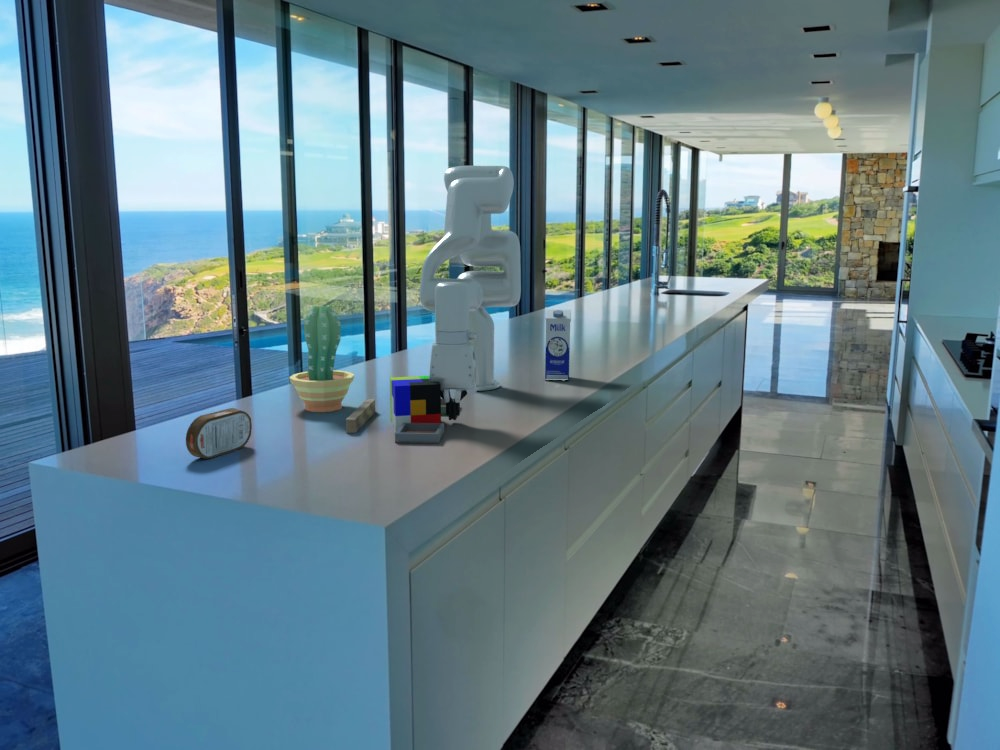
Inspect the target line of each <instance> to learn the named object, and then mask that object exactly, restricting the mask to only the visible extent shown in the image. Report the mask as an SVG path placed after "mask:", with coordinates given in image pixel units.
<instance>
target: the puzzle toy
mask: <svg viewBox="0 0 1000 750" xmlns="http://www.w3.org/2000/svg"><path fill="white" fill-rule="evenodd" d="M429 377H430V375H418V376H416V375H415V376H397V377H396V376H393V377H392V376H391V377H389V389H390V390H389V394H390V397H389V398H390V422H391V424H392V426H393V429H394V430H395V432H396V431H397V430H398V429H399V427H400V426H401V425H402V423H442V415H441V384H440V383H439V382H431V381H430V379H429Z"/></svg>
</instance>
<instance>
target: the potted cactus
mask: <svg viewBox="0 0 1000 750" xmlns="http://www.w3.org/2000/svg"><path fill="white" fill-rule="evenodd" d="M303 329H304V339H305V343H306V345H307V349H308V350H307V371H302V372H298V373H294V374H292V375H291V376H289V377H288V378H289V380H290V384H292V385H293V386H294V388H295V389H294V390H295V391H296V393H297V396H298V397H299V398H300V400H301V401H302V402H303V404H305V405H304V410H306V411H307V412H311V413H313V412H314V413H326V412H328V413H329V412H335V411H339V410H341V409H342V408H343V404H342V402H343V401H344V399H345V397H346V396H347V394H348V392H349V389H350V385H351V384H352V382H354V380H355V374H354V373H352V372H350V371H345V370H339V369H338V370H334V369H335V359H336V355H337V351H338V348H339V345H340V342H341V339H342V338H341V335H342V332H341V331H342V323H341V321H340V319H339V317H338V316H337V314H336V313H335V311H334V310H333V308H332V307H331V305H329V304H328V305H326V306H324V305H323V304H319V306H318V305H313V306H312V307H311V309H310V310H309V311H308V313H307V315H306V316H305V318H304V321H303Z"/></svg>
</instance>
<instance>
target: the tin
mask: <svg viewBox="0 0 1000 750" xmlns="http://www.w3.org/2000/svg"><path fill="white" fill-rule="evenodd" d="M252 427H253V425H252V418H251V417H250V415H249V413H248V412H246V411H243V410H241V409H238V408H234V407H230V408H225V409H222V410H218V411H213V412H210V413H206V414H203V415H202V414H201V415H198V417H196V418H195V419H194V420H192V422H190V425H189V427H188V428H187V431H186V435H185V445H186V449H187V452H189V454H190V455H191V456H194V457H195V458H200V459H204V460H205V459H207V460H208V459H209V458H210V459H212V458H213V457H214V458H216V456H217V457H220V456H222V455H226V454H229V453H232V452H235V450H236V451H237V450H238V449H239V450H240V449H243V448H244V447H245V446H246V445H247V443H248V442H249V440H250V438H251V436H252V430H253V429H252ZM219 455H220V456H219ZM214 458H213V459H214Z"/></svg>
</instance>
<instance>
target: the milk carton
mask: <svg viewBox="0 0 1000 750" xmlns="http://www.w3.org/2000/svg"><path fill="white" fill-rule="evenodd" d="M571 323H572V310H571V309H553V308H552V309H550V308H549V309H548V308H547V309H546V311H545V352H544V353H545V359H544V361H545V364H544V370H545V371H544V372H545V373H544V380H545V379H569V380H570V361H571V360H570V357H571V356H570V353H571V351H570V350H571Z"/></svg>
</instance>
